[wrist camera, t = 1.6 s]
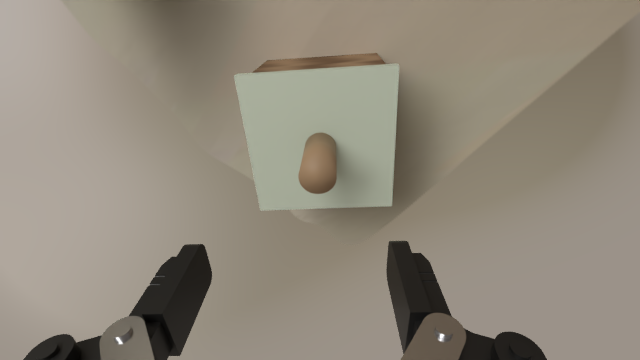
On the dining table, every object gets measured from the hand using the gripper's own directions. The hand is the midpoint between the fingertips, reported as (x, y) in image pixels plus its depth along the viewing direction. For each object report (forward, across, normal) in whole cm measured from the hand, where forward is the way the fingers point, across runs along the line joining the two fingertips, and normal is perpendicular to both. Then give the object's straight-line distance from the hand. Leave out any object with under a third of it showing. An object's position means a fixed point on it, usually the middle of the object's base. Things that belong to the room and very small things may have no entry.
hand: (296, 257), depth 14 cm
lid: (+18, -1, +2) cm, 18 cm away
